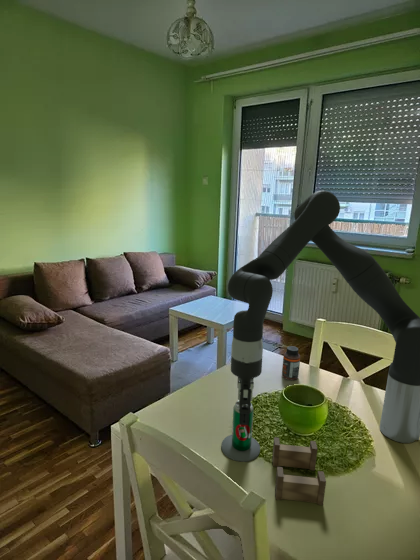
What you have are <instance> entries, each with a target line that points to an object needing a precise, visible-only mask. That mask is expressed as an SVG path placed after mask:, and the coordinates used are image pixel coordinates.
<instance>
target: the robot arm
mask: <svg viewBox="0 0 420 560" xmlns="http://www.w3.org/2000/svg"><path fill="white" fill-rule="evenodd" d="M340 212H341V204H340V201H339V199H338V197H337V196H336V195H335V194H334V193H332V192H330V191H328V190H318V191H315V192H313V193H311V194H310V195H309V196H308V197H307V198H306V199H305V200H304V201H302V203H300V204H299V205H298V206H297V207H296V208H295V210H294V220H295V221H293V222H292V223H291V224H290V225H289V226H288V227H287V228H286V229H284V230H283V232H281V233H280V234H279V235H278V236H276V238H275V239H273V240H272V242H271V243H270V244H268V245H267V247H266V248H265V249H264V250H263V251H262V252H261V253H260V254H259V256H258V257H256V258H255V259H252V260H251V261H249V262H248V263H246V264H244V265H243V266H242V267H240V268H238V269H237V270H235V272H234V273H233V274H232V275H231V276H230V278H229V280H228V284H227V291H228V292H227V293H228V295H229V296H230V297H231V298H232V299H234V300H235V301H238V302H242V303H245V304H247V305H248V307H247V310H239V311H238V312H236V313H235V314H234V317H233V323H232V324H233V327H232V340H231V351H230V353H231V354H230V371H231V373H232V375H234V376H235V377H237V401H240V407H239V412H240V421H239V423H240V425H248V424H249V414H250V412H251V408H250V404H252V403H251V402H252V401H253V391H254V387H255V383H254V379H255V378H257V377H259V376H260V375H261V374H262V371H263V353H264V344H263V343H264V342H263V335H264V334H263V333H264V321H265V318H266V315H267V313H268V310H269V306H270V304H271V301H272V298H273V290H274V289H273V284H272V282H271V281H272V280H273V281H274V280H276V279H279V278H280V276H282V275H283V273H284V272H285V271H286V270H287V269H288V268H289V267H290V265H291V264H292V263H293V261H294V260H295V259H296V257H298V255H300V253H301V252H302V251H303V249H304V248H306V246H307V245H308V244H309V242H310V241H311V242H312V243H313V244H314V245H315V246H316V247H317V248H318V249H319V250H320V252H322V253H323V254H324V255H325V257H326V258H327V260H329V262H331V264H332V265H333V266H334V267H335V268H336V270H337V271H338V272H339V274H341V276H342V278H343V279H344V280H345V282H346V283H347V284H348V285H349V287H350V288H351V290H353V291H354V293H355V294H356V295H357V296H358V297H359V298H360V299H362V301H364V303H366V305H368V306H369V307H371V308H372V309H373V310H374V311H375V312H376V313H377V314H378V316H380V319H382V321H383V322H384V323H385V325H386V327H387V329H388V330H389V331H390V333H391V335H392V338H393V339H394V341H395V347H394V354H393V359H392V362H391V363H390V365H389V366H388V367H389V368H388V374H387V381H386V387H385V392H384V397H383V398H384V399H383V404H382V411H381V416H380V422H379V431H380V432H381V433H382V434H383V435H384V436H385V437H387V438H389V439H390V440H392V441H394V442H398V443H403V444H411V443H414V442H415V441H414V440H419V441H420V316H419V315H418V314H417V313H416V312H415V311H414V309H412V308H411V307H410V306H409V305H408V304H407V303H406V302H405V300H404V299H403V298H402V297H401V295H400V293H399V292H398V290H397V289H396V287H395V285H394V283H393V282H392V280H391V278H390V277H389V276H388V274H387V273H386V271H385V270H384V269H383V268H382V267H381V265H380V263H378V261H377V260H376V259H375V258H374V256H373V255H371V254H370V253H369V252H367V251H366V250H364V249H362V248H360V247H358V246H356V245H354V244H352V243H350V242H347V241H345V240H344V239H343V238H341V237H340V236H338V234H337V233H336V232H335V230H333V229H332V228H331V226H330V225H331V224H332V223H333V222H335V221H336V219H337V218H338V216H339V215H340ZM243 404H246V405H248V406H242V405H243ZM410 442H411V443H410Z"/></svg>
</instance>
